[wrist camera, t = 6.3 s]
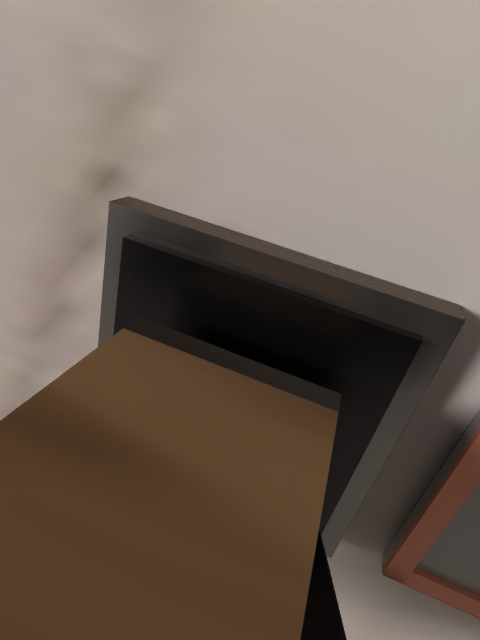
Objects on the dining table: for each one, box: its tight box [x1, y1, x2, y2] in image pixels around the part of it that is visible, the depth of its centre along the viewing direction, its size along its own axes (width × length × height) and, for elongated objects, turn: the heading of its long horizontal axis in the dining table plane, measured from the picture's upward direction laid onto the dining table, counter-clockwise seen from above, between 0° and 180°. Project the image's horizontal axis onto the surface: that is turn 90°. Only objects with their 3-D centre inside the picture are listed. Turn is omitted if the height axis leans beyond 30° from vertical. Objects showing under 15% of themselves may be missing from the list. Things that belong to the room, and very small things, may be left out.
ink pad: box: [98, 196, 465, 558], centre depth 11 cm, size 8×8×1 cm
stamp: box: [0, 317, 342, 640], centre depth 7 cm, size 4×4×6 cm
